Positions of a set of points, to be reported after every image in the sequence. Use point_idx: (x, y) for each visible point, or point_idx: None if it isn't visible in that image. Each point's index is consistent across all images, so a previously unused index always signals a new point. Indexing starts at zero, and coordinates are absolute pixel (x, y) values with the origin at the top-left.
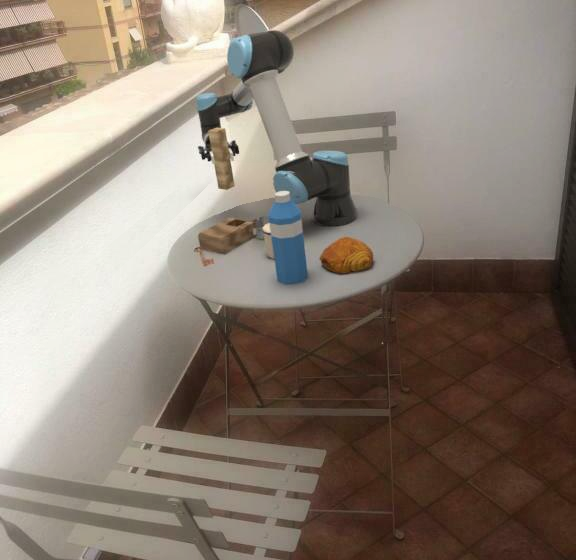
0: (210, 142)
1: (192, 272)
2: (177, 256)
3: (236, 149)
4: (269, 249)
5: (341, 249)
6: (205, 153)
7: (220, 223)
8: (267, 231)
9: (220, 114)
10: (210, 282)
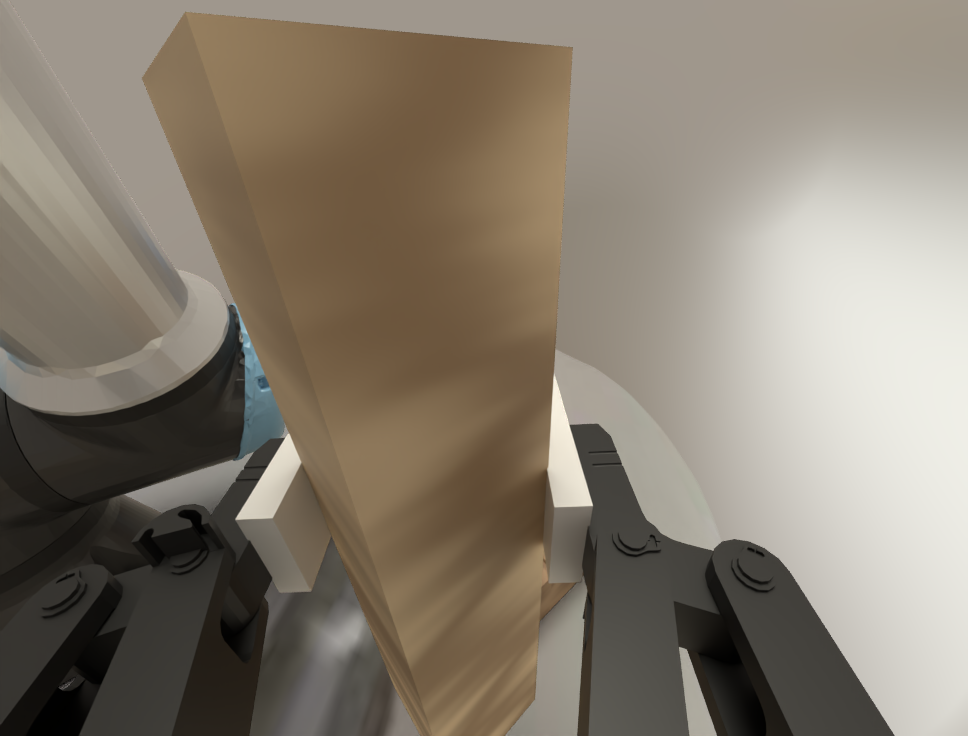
0: (551, 333)
1: (611, 417)
2: (691, 509)
3: (135, 578)
4: None
5: None
6: (682, 575)
7: (542, 573)
8: None
9: None
10: (562, 379)
